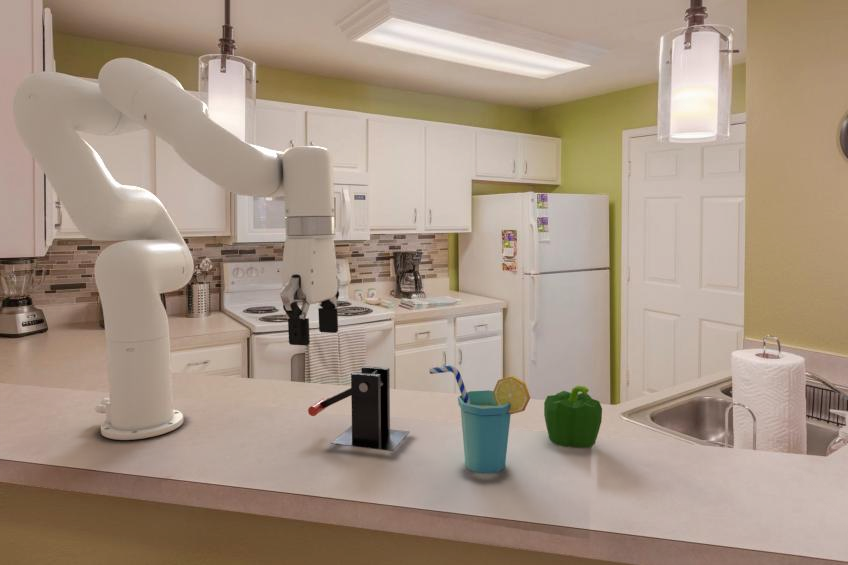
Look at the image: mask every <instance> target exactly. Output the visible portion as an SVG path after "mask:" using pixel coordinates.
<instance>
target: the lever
mask: <svg viewBox="0 0 848 565" xmlns="http://www.w3.org/2000/svg"><path fill="white" fill-rule="evenodd" d="M370 374H379V373H378V371H377V370H376V371H374V372H372V373H370ZM383 384H384V383H383V381H382V379H381V377H380V387H381V386H382V385H383ZM349 397H351V387H349V388H347V389H345V390H343V391H342V392H339V393H337V394H335V395H333V396H331V397H327V396H326V397H323V398H321V399H320V400H319V401H317V402H315V403H313V404H311V405H310V406H309V407H308V409H307V412H308V415H309V416H311V417H315V416H317V415H318V414H320V413H321V412H323V411H324V410H325V409H327V408H329V407H330V406H332V405H334V404H337V403H339V402H341V401H342V400H345V399H347V398H349Z"/></svg>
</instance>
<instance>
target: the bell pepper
mask: <svg viewBox="0 0 848 565" xmlns="http://www.w3.org/2000/svg"><path fill="white" fill-rule="evenodd" d="M588 392H589V388H587V387H586V386H584V385H576V386H574V387H573V388H571V392H569V391H566V390H562V391H559V392H557V393H555V394H553V395H547V396H546V398H545V400H544V402H543V416H544V420H545V426H546V430H547V434H548V438H549V440H550V441H551V442H552V443H554V444H556V445H558V446H562V447H572V448H578V449H580V448H581V449H585V448H593V446H595V444H596V441H597V439H598V435H599V432H600V428H601V425H602V421H603V420H602V419H603V408H602V405H601V402H600V401H599V400H597V399H595V398H592V396H591V395H589V393H588Z"/></svg>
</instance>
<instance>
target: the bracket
mask: <svg viewBox="0 0 848 565" xmlns="http://www.w3.org/2000/svg"><path fill="white" fill-rule="evenodd" d="M360 370H361V372H352V373H351V375H350V388H351V396H350V397H351V398H350V399H351V425H350V427H348V428H347V429H346V430H345V431H344V432H343V433H341V434H340V435H339V436H338V437H337V438H335V439H334V440H333V441H332V442H331V445H340V446H346V447H347V446H348V447H357V448H362V449H363V448H364V449H370V450H371V449H373V450H381V451H387V452H388V451H389V452H394V450H396V448H398V446H399V445H400V444H401V443H402V442H403V441H404V439H405V438H407V436H408V435H409V434H410V431H406V430H399V429H391V411H390V410H391V399H390V398H391V395H390V394H391V392H390V389H391V388H390V387H391V386H390V382H391V380H390V378H391V377H390V376H391V375H390V367H381V366H380V367H379V366H368V365H363V366H362V367H361V368H360ZM376 370H377V371H378V373H379V374H370V373H372V372H374V371H376ZM380 377H381V379H382V381H383V383H384V384H383V385H382V386H381V387H380Z"/></svg>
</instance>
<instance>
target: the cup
mask: <svg viewBox="0 0 848 565" xmlns="http://www.w3.org/2000/svg"><path fill="white" fill-rule="evenodd" d="M428 371H429V374H430V375H433V374H442V373H443V374H444V373H453V375H454V378H455V380H456V383H457V386H458V389H459V391H460V394H461V395H459V396H457V404H458V406H459V407H460V418H461V431H462V443H463V452H464V463H465V466H466V468H467V469H468V471H471V472H474V473H478V474H482V475H483V474H484V475H485V474H497V473H500V472H501V471H502V470H503V469H505V468H506V462H507V452H508V443H509V434H510V424H511V415H514V414H518V413H522V412H524V411H526V408H527V406H528V403H529V402H530V399H531V395H530V392H529V390H528V387H527V384H526V382H524V381H522V380H521V379H519V378H517V377H515V376H514V375H510V376H507V377H504V378H500V379H498V380H497V381H496V384H495V386H494V389H493V390H471V391H468V392H467V389H466V386H465V384H464V380H463V378H462V375H461V372H460V371H459V370H458V368H456V367H455V366H454V365H451V364H450V365H443V366H437V367H429V370H428Z"/></svg>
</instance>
